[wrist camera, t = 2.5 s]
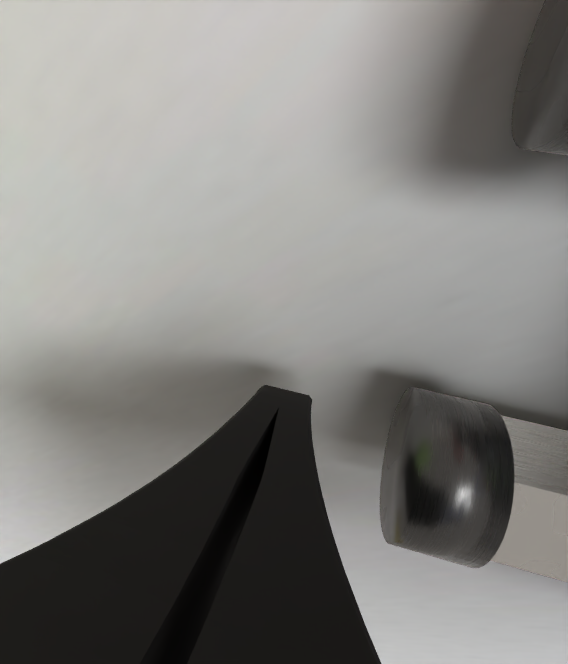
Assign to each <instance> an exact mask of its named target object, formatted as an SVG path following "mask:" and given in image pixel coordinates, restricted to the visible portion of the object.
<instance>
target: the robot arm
mask: <svg viewBox="0 0 568 664" xmlns="http://www.w3.org/2000/svg"><path fill="white" fill-rule="evenodd" d="M311 404H312V399H311V398H310V396H309V395H305V394H301V393H297V392H292V391H288V390H284V389H280V388H276V387H272V386H268V385H264V386H262V387H261V388H260V389H259V390H258V391H257V392H256V394H255V395H254V396H253V397H252V398H251V399H250V400H249V401H248V402H247V403H246V404H245V405H244V406H243V407H242V408H241V409H240V410H239V411H238V412H237V413H236V414H235V415H234V416H233V417H232V418H231V419H230V420H229V421H228V422H226V423H225V424H224V425H223V426H222V427H221V428H220V429H219V430H218V431H217V432H215V433H214V434H213V435H212V436H211V437H210V438H208V439H207V440H206V441H205V442H203V443H202V444H201V445H200V446H199V447H197V448H196V449H195V450H194V451H192V452H191V453H190V454H189V455H187V456H186V457H185V458H183V459H182V460H181V461H179V462H178V463H177V464H175V465H174V466H173V467H171V468H170V469H169V470H167V471H166V472H164V473H163V474H161V475H160V476H158V477H157V478H156V479H154V480H153V481H151V482H150V483H148V484H147V485H145V486H143V487H142V488H140V489H139V490H137V491H136V492H134V493H132V494H131V495H129V496H128V497H126V498H124V499H123V500H121V501H120V502H118V503H116V504H115V505H113V506H111V507H110V508H108V509H106V510H104V511H103V512H101V513H99V514H97V515H96V516H94V517H92V518H90V519H88V520H86V521H84V522H83V523H81V524H79V525H77V526H75V527H73V528H71V529H70V530H68V531H66V532H64V533H62V534H60V535H58V536H56V537H55V538H53V539H51V540H49V541H47V542H45V543H43V544H41V545H39V546H37V547H35V548H33V549H31V550H29V551H27V552H25V553H22V554H20V555H18V556H16V557H14V558H12V559H10V560H7V561H5V562H3V563H1V564H0V664H381V662H380V659H379V657H378V655H377V652H376V650H375V647H374V645H373V643H372V640H371V638H370V636H369V633H368V631H367V628H366V626H365V623H364V621H363V618H362V615H361V613H360V610H359V607H358V605H357V602H356V600H355V597H354V594H353V592H352V589H351V586H350V584H349V581H348V578H347V576H346V573H345V570H344V567H343V564H342V561H341V558H340V555H339V552H338V549H337V546H336V543H335V540H334V537H333V533H332V530H331V526H330V523H329V519H328V516H327V512H326V508H325V504H324V500H323V496H322V492H321V487H320V483H319V478H318V473H317V468H316V462H315V456H314V449H313V442H312V432H311Z"/></svg>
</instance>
